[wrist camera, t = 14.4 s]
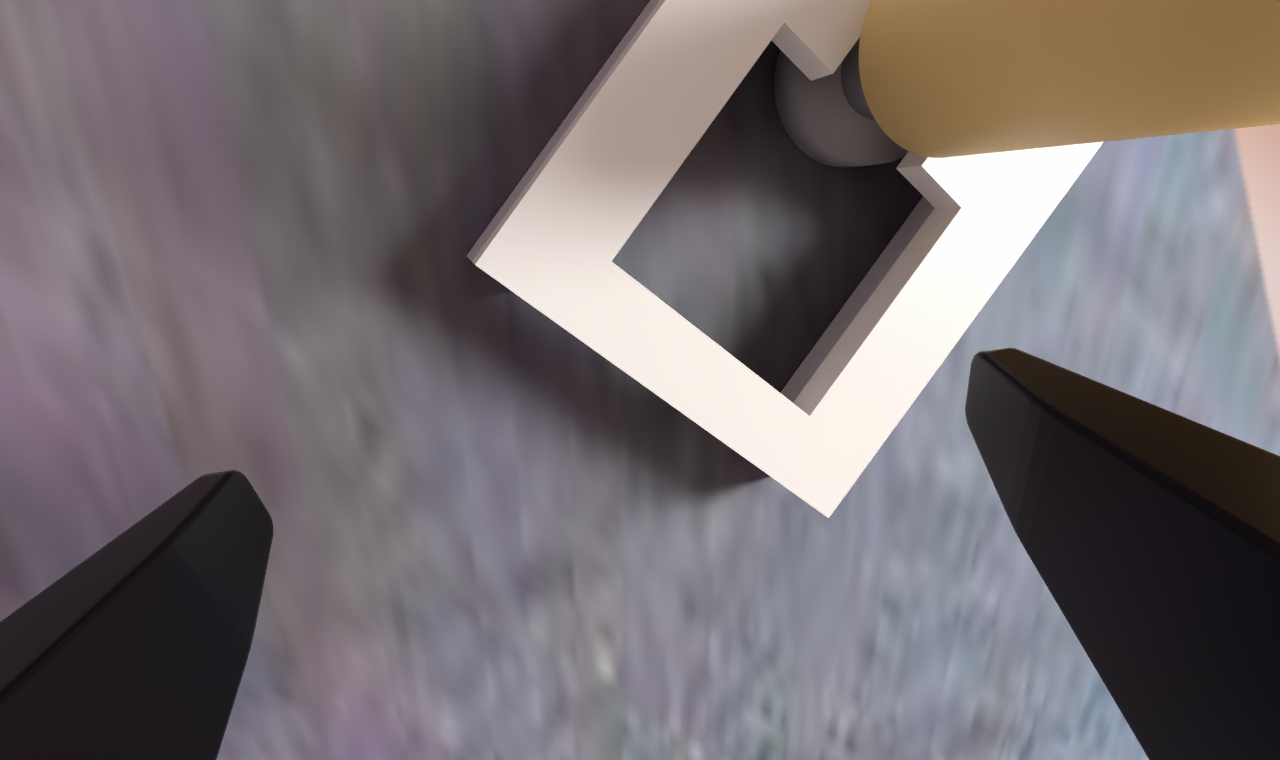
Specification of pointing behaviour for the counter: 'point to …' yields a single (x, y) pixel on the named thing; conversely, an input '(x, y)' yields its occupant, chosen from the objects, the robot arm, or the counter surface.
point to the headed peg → (1034, 77)
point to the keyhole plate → (867, 323)
